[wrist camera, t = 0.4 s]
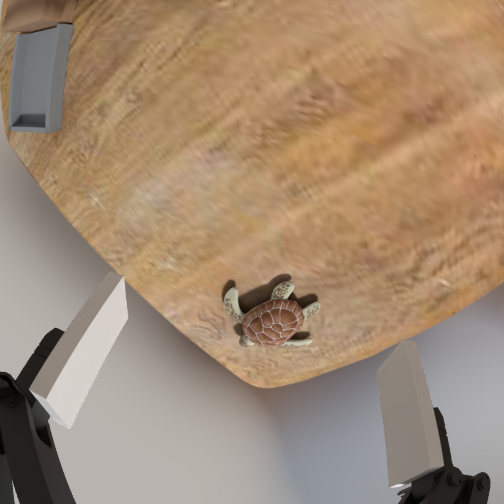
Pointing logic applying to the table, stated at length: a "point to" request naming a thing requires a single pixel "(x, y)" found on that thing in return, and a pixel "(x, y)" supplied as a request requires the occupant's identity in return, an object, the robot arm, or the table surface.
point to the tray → (39, 80)
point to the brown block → (37, 14)
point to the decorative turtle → (271, 318)
